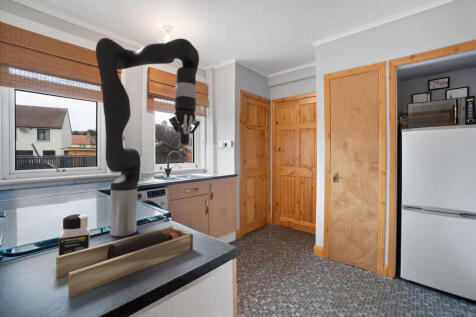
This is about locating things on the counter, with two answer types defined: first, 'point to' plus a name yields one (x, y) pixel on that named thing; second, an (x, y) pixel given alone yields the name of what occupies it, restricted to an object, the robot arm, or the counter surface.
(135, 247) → the vinegar
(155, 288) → the counter surface
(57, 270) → the u rest
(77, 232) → the medicine bottle
